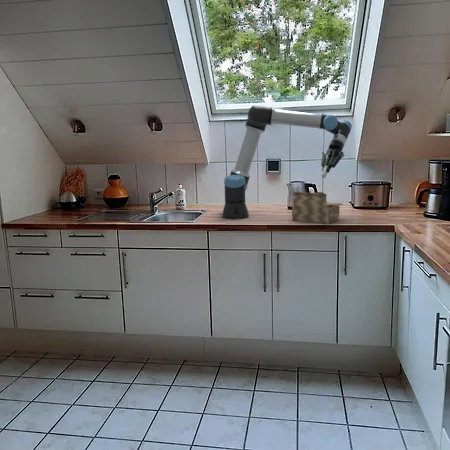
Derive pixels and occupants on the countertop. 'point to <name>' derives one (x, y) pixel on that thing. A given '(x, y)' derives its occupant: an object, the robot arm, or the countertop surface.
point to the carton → (316, 213)
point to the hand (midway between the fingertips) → (323, 176)
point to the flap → (309, 199)
